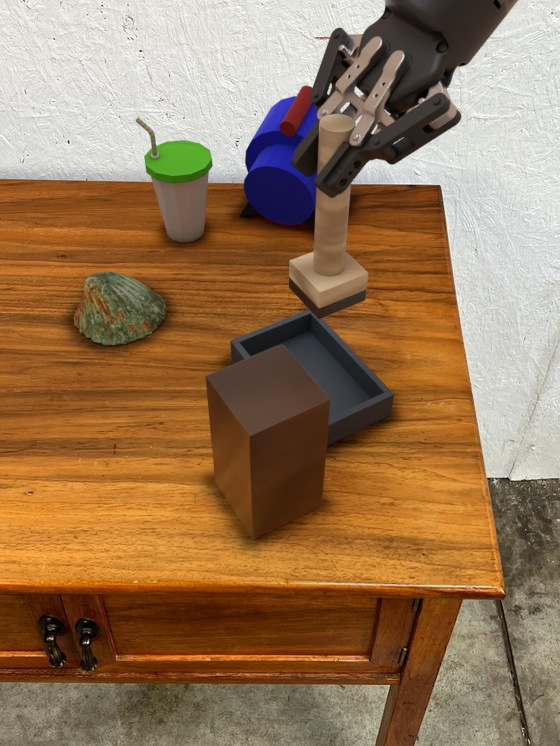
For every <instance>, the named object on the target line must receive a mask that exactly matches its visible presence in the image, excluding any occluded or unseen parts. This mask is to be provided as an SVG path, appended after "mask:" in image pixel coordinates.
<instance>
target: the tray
mask: <svg viewBox="0 0 560 746" xmlns="http://www.w3.org/2000/svg"><path fill="white" fill-rule="evenodd" d="M229 344H230V362H231V364H232V365H233V364H235V363H237V362H240V361H242V360H245V359H247V358H250V357H252V356H254V355H257V354H259V353H262V352H264V351H267V350H269V349H271V348H274V347H276V346H279V345H281V344H283V345H284V346H285V347H286V348H287V350H288V351H289V352H290V353H291V354H292V355H293V357H294V358H295V359H296V360H297V361H298V362H299V363H300V365H301V366H302V367H303V368H304V369H305V370H306V372H307V373H308V374H309V375H310V376H311V377H312V379H313V380H314V381H315V382H316V383H317V384H318V386H319V387H320V388H321V389H322V390H323V391H324V392H325V394H326V395H327V396H328V397H329V398H330V411H329V423H328V436H327V447H329V446H330V445H333V444H334V443H338V442H339V441H341V440H343V439H345V438H347V437H350V436H351V435H353V434H356V433H357V432H359V431H362V430H364V429H365V428H367V427H370V426H372V425H373V424H376V423H378V422H380V421H382V420H385V419H386V418H388V417H390V416H392V411H393V405H394V399H395V393H394V392H393V391H392V390H391V389H390V388H389V387H388V386H387V385H386V384H385V382H383V380H381V378H379V376H377V374H376V373H375V372H374V371H373V370H372V369H371V368H370V367H369V366H368V365H367V364H366V363H365V362H364V360H362V359H361V357H360V356H359V355H358V354H357V353H356V352H355V351H354V350H353V349H352V348H351V347H350V346H349V345H348V343H347V342H346V341H344V339H343V338H342V337H340V335H339V334H338V333H337V332H336V331H335V330H334V329H333V328H332V327H331V326H330V325H329V323H327V321H326V320H325V319H324V317H323V318H321V319H318V318H317V317H316V316H315V315H314V314H313V313H312V312H311V311H310V310H309V308H307V309H305V310H303V311H300V312H298V313H295V314H293V315H290V316H287V317H285V318H283V319H280V320H278V321H275V322H273V323H271V324H268V325H265V326H263V327H261V328H258V329H256V330H253V331H251V332H248V333H245V334H243V335H240V336H238V337H235V338H232V339H231V340H229Z"/></svg>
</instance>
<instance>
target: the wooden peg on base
mask: <svg viewBox="0 0 560 746" xmlns="http://www.w3.org/2000/svg"><path fill="white" fill-rule="evenodd" d="M356 125H357V123H356V121H355V120H354V119H353V118H351V117H349V116H347V115H342V114H331V115H327V116H325V117H323V118H322V119H321V120H320V123H319V145H318V167H317V176H318V174H319V173H320V172H321V170H322V169H323V168H324V166H325V165H326V164H327V163H328V161H329V160H330V159H331V157H332V156H333V155H334V153H335V152H336V151H337V149H338V148H339V147H340V145H341V144H342V143H343V142H346V143H347V144H348V145H349V137H350V135H351V133H352V132H353V130H354V128H355V127H356ZM351 190H352V183H350V185H349V186H348V188H347V189H346V190H345V191H344V192H343V193H341V194H340V195H339V194H338V195H337V196H336V197H334V198H330V197H329V196H327V195H326V194H324V193H323V192H322V191H320V190H319V189H318V188H317V190H316V212H315V230H314V233H313V234H314V235H313V237H314V239H313V251H311V252H309V253H306V254H303V255H300V256H298V257H295V258H291V259H289V262H288V264H289V265H288V267H289V269H288V275H289V276H288V288H289V290H290V291H291V292H292V293H293V294H294V295H295V296H296V297H297V298H298V299H299V300H300V301H301V302H302V304H304V305H305V306H306V308H307V309H309V310H310V311H311V312H312V313H313V314H314V315H315V316H316V317H317V318H318V319H321V318H323V319H324V318H325V317H328V316H330V315H333V314H335V313H339V312H340V311H343V310H345V309H348V308H350V307H354V306H355V305H357V304H360V303H362V302H365V301H366V299H367V292H368V291H367V290H368V280H369V272H368V271H367V270H366V269H365V268H364V267H363V266H361V264H359V262H357V261H356V260H355V259H354V258H353V257H352V256H351V255H350V254H349V253H348V252H346V251H347V239H348V225H349V215H350V214H349V212H350V204H351V202H350V193H351ZM349 203H350V204H349Z"/></svg>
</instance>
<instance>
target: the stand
mask: <svg viewBox="0 0 560 746" xmlns="http://www.w3.org/2000/svg"><path fill="white" fill-rule="evenodd" d="M205 385H206V386H205V387H206V398H207V399H206V400H207V407H208V409H207V410H208V419H209V421H208V422H209V430H210V432H209V433H210V442H211V452H212V464H213V475H214V483H215V485H216V486H217V488H218V489H219V491H220V493H221V494H222V496H223V497H224V498H225V500H226V502H227V504H228V505H229V506H230V508H231V509H232V510H233V511H234V514H235V516H237V518H238V520H239V521H240V523H241V524H242V526H243V527H244V529H245V530H246V532H247V533H248V535H249V536H250V538H251V540H252V541H254V540H257V539H259V538H260V537H262V536H265V535H266V534H269V533H270V532H272V531H274V530H276V529H279V528H280V527H282V526H284V525H286V524H288V523H290V522H293V521H294V520H296V519H298V518H300V517H302V516H304V515H306V514H308V513H310V512H312V511H313V510H315V509H318V508H319V507H321V506H322V505H323V496H324V485H325V473H326V458H327V448H328V446H327V436H328V423H329V411H330V398H329V397H328V396H327V395H326V394H325V392H324V391H323V390H322V389H321V388H320V387H319V386H318V384H317V383H316V382H315V381H314V380H313V379H312V377H311V376H310V375H309V374H308V373H307V372H306V370H305V369H304V368H303V367H302V366H301V365H300V363H299V362H298V361H297V360H296V359H295V358H294V357H293V355H292V354H291V353H290V352H289V351H288V350H287V348H286V347H285V346H284V345H283V344H281V345H279V346H276V347H274V348H271V349H269V350H267V351H264V352H262V353H259V354H257V355H254V356H252V357H250V358H247V359H245V360H242V361H240V362H237V363H235V364H233V363H232V364H230V365H228V366H226V367H224V368H220V369H218V370H216V371H213V372H211V373H209V374H206V375H205Z"/></svg>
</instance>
